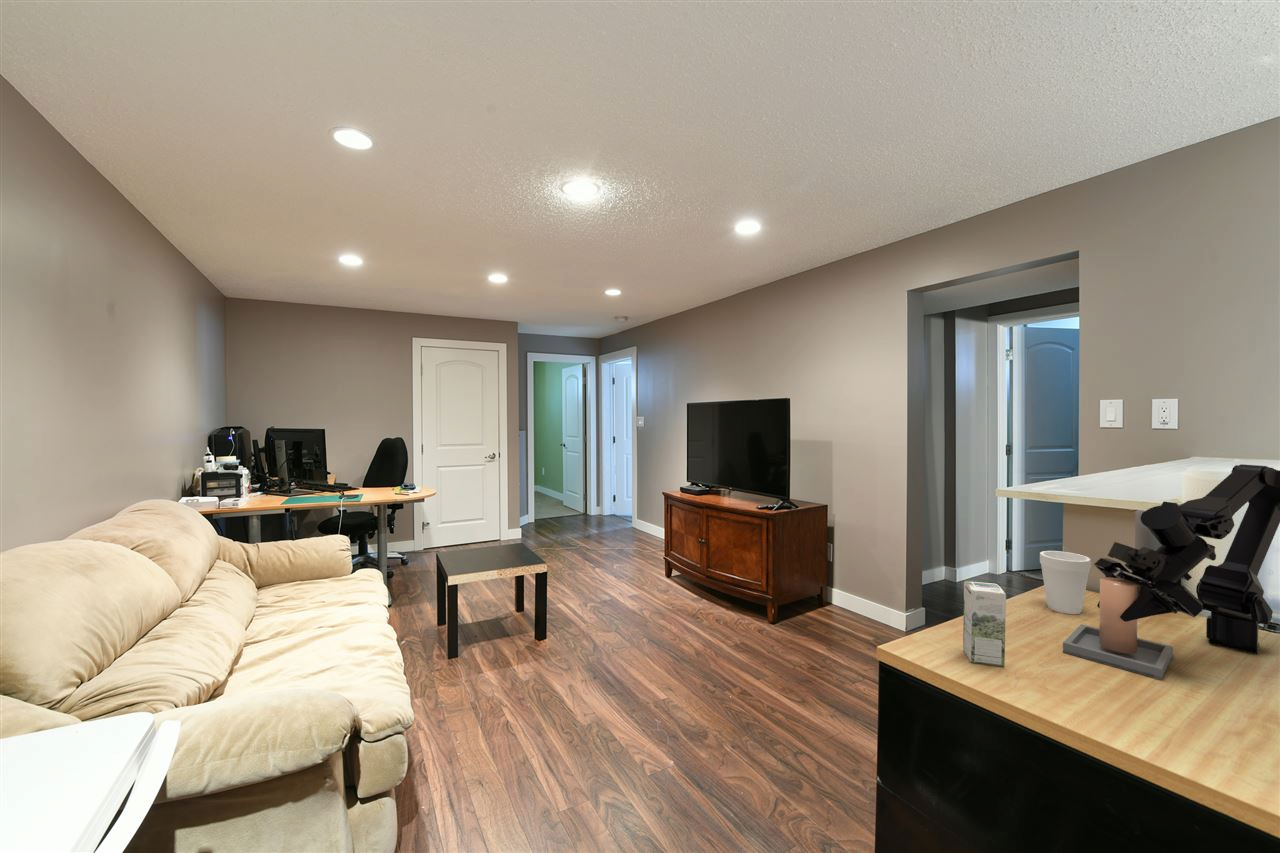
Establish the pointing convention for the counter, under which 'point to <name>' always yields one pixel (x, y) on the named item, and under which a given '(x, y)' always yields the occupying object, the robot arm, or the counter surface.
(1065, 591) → the foam cup
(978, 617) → the syrup box
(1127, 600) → the peach rounded cylinder
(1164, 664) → the tray
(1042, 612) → the counter surface
